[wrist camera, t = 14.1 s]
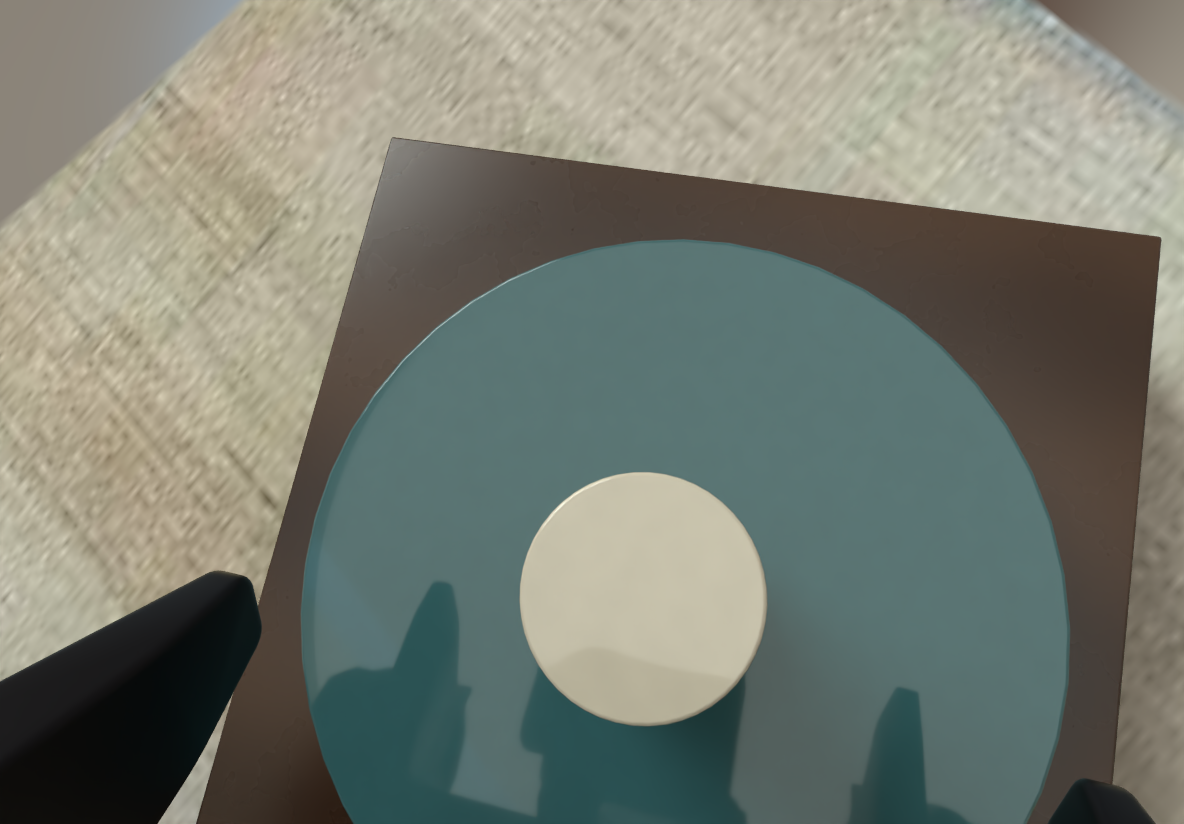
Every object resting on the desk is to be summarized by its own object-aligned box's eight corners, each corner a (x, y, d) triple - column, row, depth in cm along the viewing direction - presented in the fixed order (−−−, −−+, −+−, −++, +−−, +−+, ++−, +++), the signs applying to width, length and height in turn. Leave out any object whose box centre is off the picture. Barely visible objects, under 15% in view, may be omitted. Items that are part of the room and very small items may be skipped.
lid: (991, 1098, 11) (1216, 1497, 6) (251, 869, 13) (-21, 1034, 8) (1074, 321, 14) (1293, 160, 9) (425, 224, 16) (291, 49, 11)
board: (994, 1125, 14) (1070, 1266, 11) (254, 892, 16) (156, 957, 13) (1083, 298, 17) (1162, 236, 14) (439, 205, 19) (391, 136, 16)
